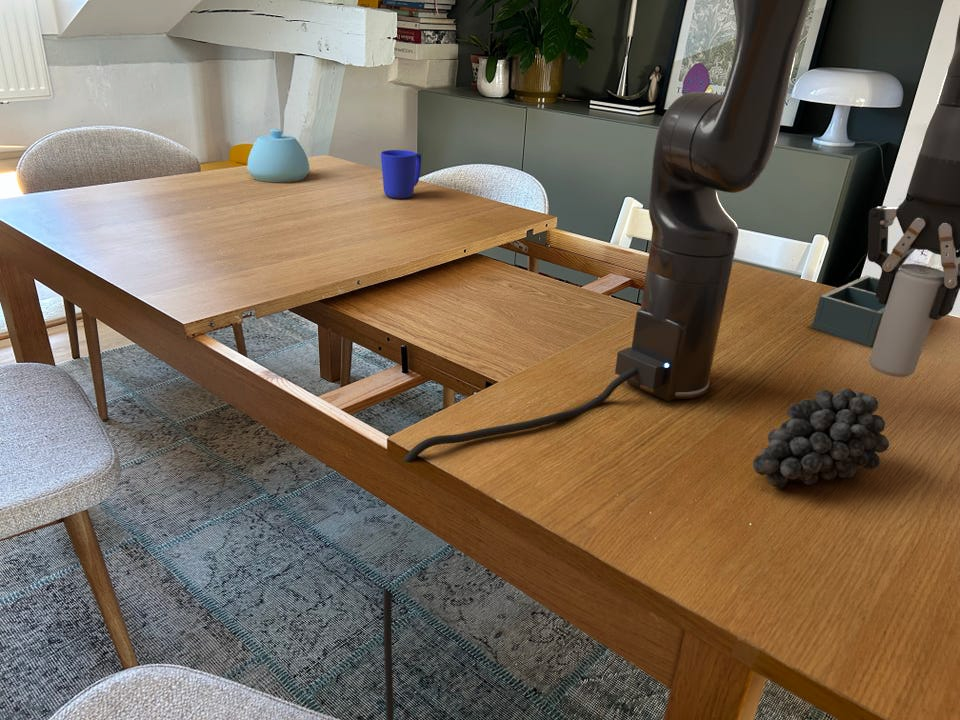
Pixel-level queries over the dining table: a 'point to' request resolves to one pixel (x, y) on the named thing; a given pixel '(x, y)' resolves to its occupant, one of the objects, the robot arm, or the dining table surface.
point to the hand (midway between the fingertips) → (910, 309)
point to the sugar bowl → (277, 158)
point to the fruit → (824, 439)
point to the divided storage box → (851, 311)
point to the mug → (400, 172)
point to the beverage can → (906, 320)
